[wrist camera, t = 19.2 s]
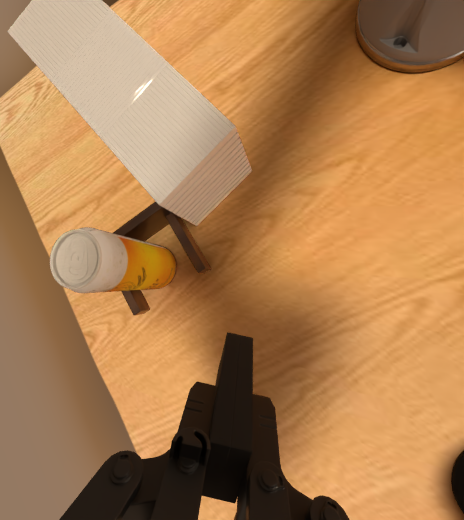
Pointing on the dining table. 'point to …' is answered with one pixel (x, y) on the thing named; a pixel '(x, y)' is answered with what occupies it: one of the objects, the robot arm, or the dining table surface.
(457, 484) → the wine glass
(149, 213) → the brown wooden u-shaped frame
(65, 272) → the beer can
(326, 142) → the dining table surface
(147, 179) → the stack of papers
